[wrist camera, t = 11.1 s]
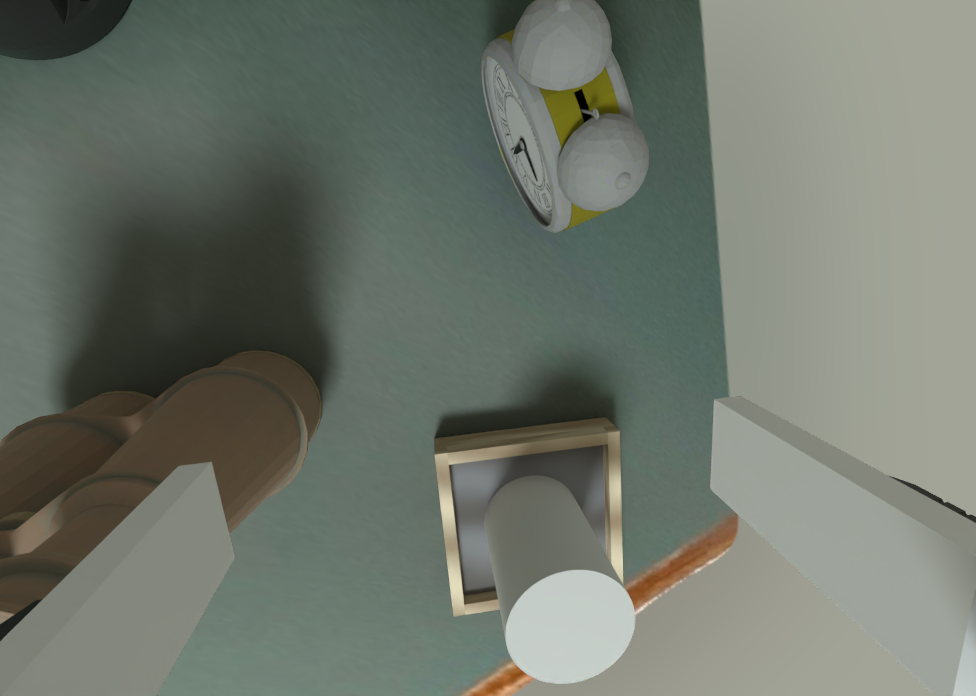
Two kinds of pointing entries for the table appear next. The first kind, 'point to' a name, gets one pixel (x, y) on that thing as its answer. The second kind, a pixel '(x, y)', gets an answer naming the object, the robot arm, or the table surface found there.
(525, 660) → the white cylinder
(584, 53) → the alarm clock
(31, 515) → the binoculars
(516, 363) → the table surface
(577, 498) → the square picture frame
